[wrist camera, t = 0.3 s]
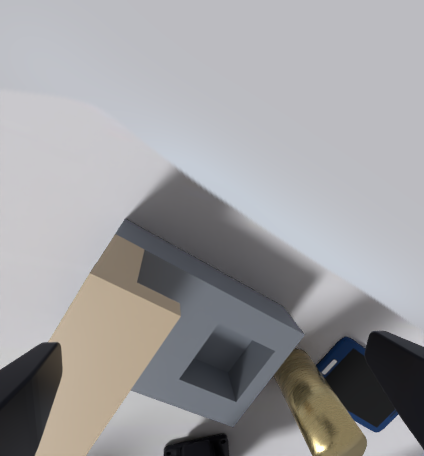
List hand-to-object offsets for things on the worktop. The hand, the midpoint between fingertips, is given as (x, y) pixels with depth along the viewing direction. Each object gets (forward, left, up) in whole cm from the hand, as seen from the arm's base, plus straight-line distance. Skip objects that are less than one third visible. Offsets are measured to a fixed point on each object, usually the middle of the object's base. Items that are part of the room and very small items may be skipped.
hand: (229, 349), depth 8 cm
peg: (-16, -9, -14) cm, 23 cm away
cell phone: (-20, -17, -15) cm, 30 cm away
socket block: (-8, +1, -14) cm, 16 cm away
